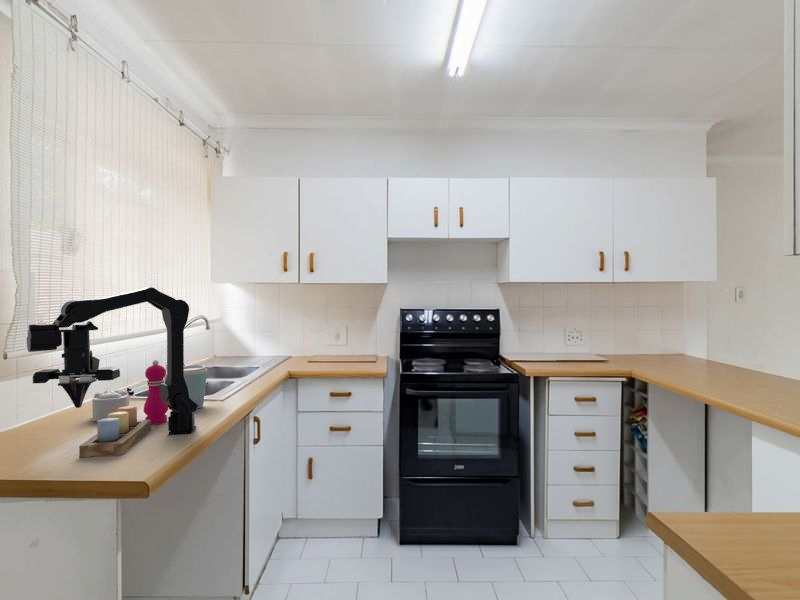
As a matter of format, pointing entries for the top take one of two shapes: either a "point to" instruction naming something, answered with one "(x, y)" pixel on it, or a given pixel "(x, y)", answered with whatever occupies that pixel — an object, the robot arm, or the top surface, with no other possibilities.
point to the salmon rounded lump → (130, 414)
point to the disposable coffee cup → (196, 382)
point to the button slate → (108, 429)
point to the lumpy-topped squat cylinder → (108, 403)
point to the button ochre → (121, 420)
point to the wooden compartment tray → (115, 441)
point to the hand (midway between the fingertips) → (78, 407)
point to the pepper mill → (155, 395)
